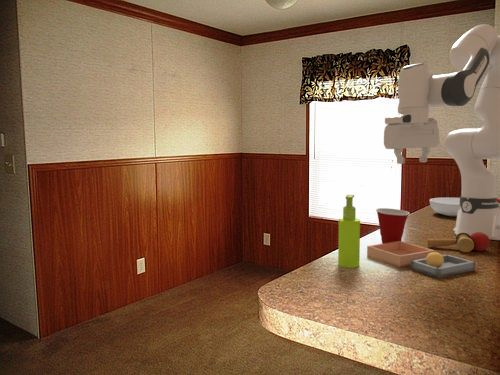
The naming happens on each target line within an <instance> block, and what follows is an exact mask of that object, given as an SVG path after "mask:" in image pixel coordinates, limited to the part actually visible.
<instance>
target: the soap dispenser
mask: <svg viewBox="0 0 500 375" xmlns="http://www.w3.org/2000/svg"><path fill="white" fill-rule="evenodd" d="M354 198H355V195H354V194H346V195H345V200H346V203H345V204H346V205H345V206H343V207H342V208H343V209H342V210H343V211H342V213H343V214H342V218H339V219H338V239H337V240H338V243H337V244H338V249H337V250H338V253H337V254H338V256H337V258H338V262H337V263H338V266H339V267H342V268H345V269H346V268H348V269H353V268H354V269H355V268H358V267H360V257H361V256H360V252H361V250H360V248H361V247H360V245H361V244H360V243H361V242H360V241H361V240H360V239H361V238H360V237H361V234H360V233H361V219H358V218H356V215H357V214H356V207H355V206H354V205H353V199H354Z"/></svg>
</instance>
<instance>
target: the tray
mask: <svg viewBox="0 0 500 375" xmlns="http://www.w3.org/2000/svg"><path fill="white" fill-rule="evenodd" d="M441 255H442V257H443V259H444V263H443V265H442V266H441V267H440V268H437V267H433V266H430V265H427V263H426V258H424V259H418V260H413V261H411V266H410V270H411V271H416V272H419V273H422V274H424V275H428V276H430V277H433V278H436V279H440V278H445V277H449V276H453V275H459V274H464V273H469V272H473V271H475V270H476V268H475V267H476V261H472V260H469V259H466V258H462V257H458V256H455V255H451V254H447V253H445V254H441Z"/></svg>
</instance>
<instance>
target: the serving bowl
mask: <svg viewBox="0 0 500 375" xmlns="http://www.w3.org/2000/svg"><path fill="white" fill-rule="evenodd" d="M459 200H460V197H434V198H430V199H429V205H430V207H431V209H432V210H433V211H434V212H436V213H438V214H440V215H443V216H446V217H455V218H457V214H458V210H459V209H460V207H461V206H460V202H459Z"/></svg>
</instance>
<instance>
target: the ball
mask: <svg viewBox="0 0 500 375" xmlns="http://www.w3.org/2000/svg"><path fill="white" fill-rule="evenodd" d="M442 255H443V254H441V253H439V252H437V251H436V252H432V253H429V254H428V255H427V257H426V263H427V265H430V266H433V267H437V268H440V267H441V266H442V265H443V263H444V259H443V257H442Z"/></svg>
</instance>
